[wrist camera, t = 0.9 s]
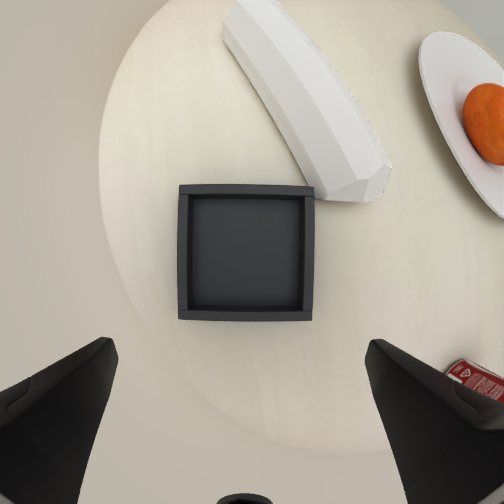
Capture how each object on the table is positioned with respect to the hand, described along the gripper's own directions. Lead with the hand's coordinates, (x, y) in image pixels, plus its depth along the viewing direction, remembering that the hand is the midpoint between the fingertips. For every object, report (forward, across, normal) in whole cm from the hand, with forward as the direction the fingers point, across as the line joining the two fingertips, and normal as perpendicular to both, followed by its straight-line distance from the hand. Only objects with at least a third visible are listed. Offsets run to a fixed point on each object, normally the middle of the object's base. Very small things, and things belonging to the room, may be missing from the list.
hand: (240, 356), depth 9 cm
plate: (+21, -33, -15) cm, 42 cm away
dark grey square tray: (+15, 0, +2) cm, 15 cm away
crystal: (+20, -5, -12) cm, 24 cm away
